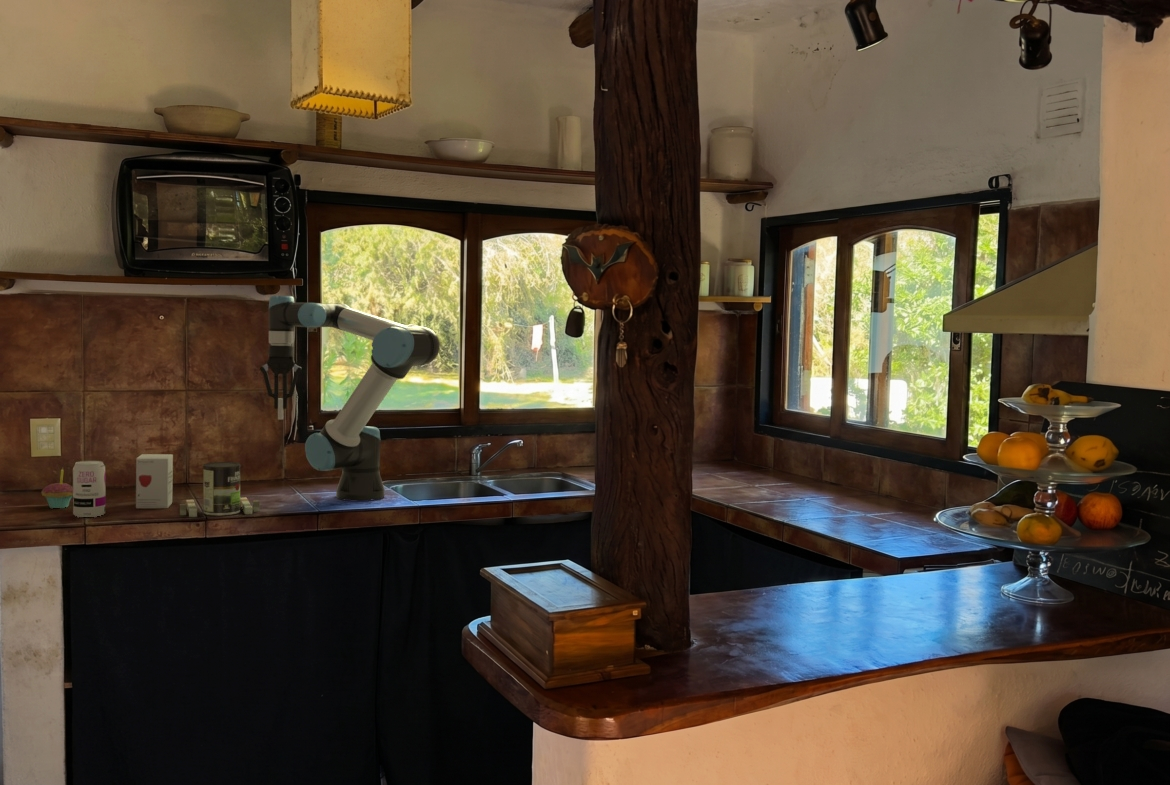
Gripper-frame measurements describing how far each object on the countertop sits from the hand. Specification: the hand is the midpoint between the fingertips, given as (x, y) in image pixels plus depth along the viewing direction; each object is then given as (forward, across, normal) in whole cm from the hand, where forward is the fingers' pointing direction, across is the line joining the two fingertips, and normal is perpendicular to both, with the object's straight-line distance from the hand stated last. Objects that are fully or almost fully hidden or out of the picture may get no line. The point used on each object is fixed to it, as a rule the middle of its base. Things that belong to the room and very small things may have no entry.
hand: (280, 419), depth 325 cm
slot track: (+24, +16, +23) cm, 37 cm away
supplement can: (+25, +50, +28) cm, 62 cm away
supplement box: (+25, +35, +15) cm, 45 cm away
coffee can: (+25, +15, +26) cm, 39 cm away
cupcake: (+25, +61, +15) cm, 67 cm away
